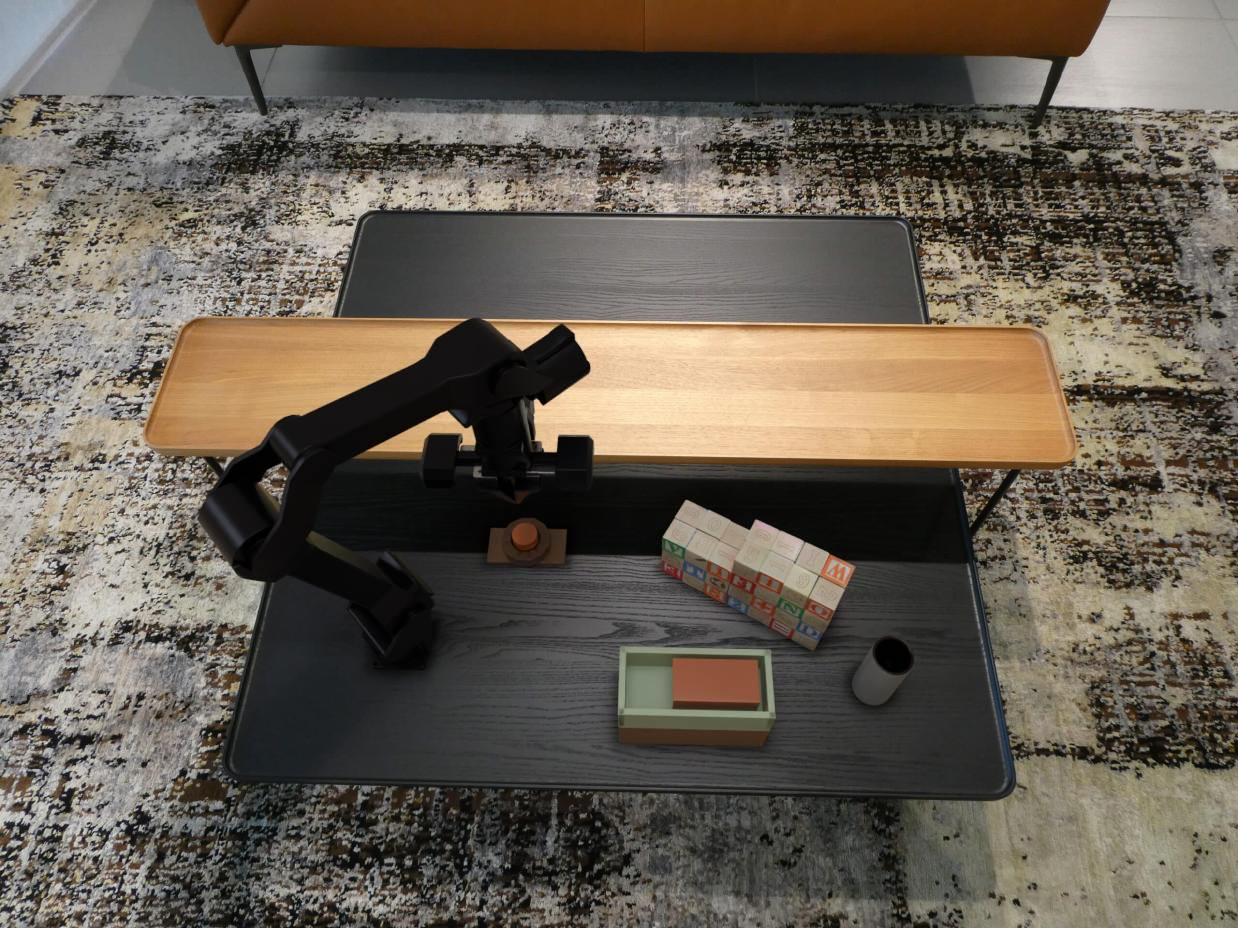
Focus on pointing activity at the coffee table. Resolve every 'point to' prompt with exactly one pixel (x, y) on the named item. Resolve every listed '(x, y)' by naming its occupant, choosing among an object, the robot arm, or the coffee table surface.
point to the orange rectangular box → (715, 684)
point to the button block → (544, 553)
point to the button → (525, 537)
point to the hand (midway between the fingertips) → (517, 500)
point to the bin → (657, 723)
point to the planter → (883, 670)
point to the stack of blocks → (757, 571)
